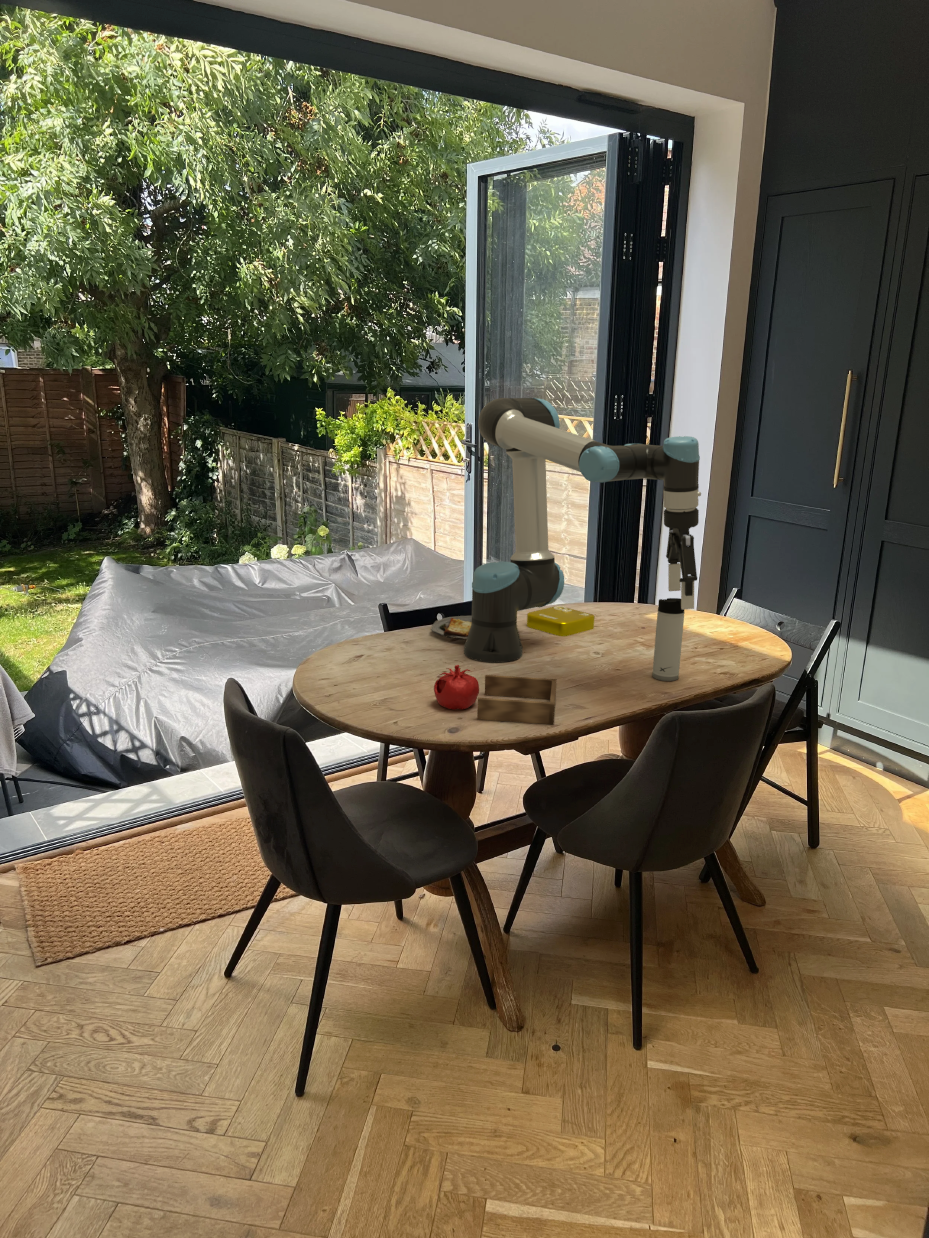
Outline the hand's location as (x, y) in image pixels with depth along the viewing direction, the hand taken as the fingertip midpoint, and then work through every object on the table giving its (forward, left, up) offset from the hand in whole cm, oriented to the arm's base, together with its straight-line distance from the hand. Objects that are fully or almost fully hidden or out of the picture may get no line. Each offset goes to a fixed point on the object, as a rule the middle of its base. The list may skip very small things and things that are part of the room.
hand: (680, 599), depth 203 cm
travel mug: (-5, +4, -21) cm, 22 cm away
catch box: (-10, -40, -21) cm, 47 cm away
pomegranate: (-20, -49, -22) cm, 57 cm away
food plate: (-62, -11, -22) cm, 66 cm away
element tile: (-53, +14, -22) cm, 59 cm away
